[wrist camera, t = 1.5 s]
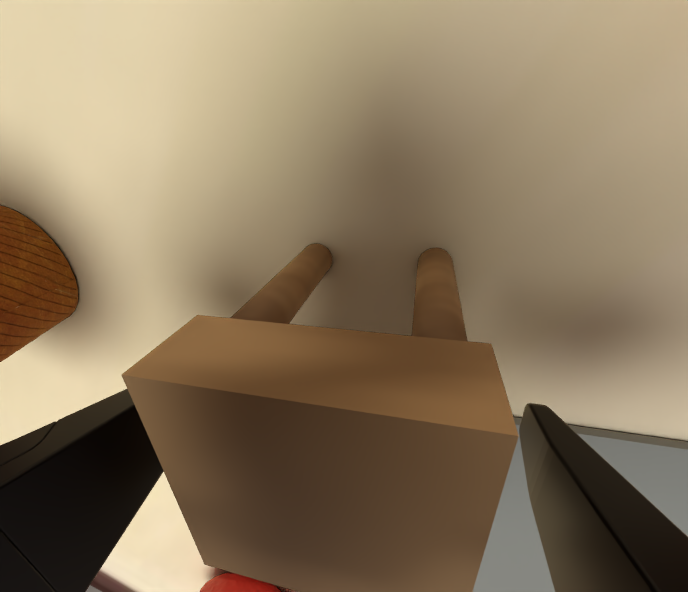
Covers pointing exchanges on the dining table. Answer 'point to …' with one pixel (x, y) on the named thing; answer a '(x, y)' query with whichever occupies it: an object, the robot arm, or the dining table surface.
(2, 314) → the disposable coffee cup
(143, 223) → the dining table surface
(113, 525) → the robot arm
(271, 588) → the pomegranate
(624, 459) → the mat
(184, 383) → the stool
